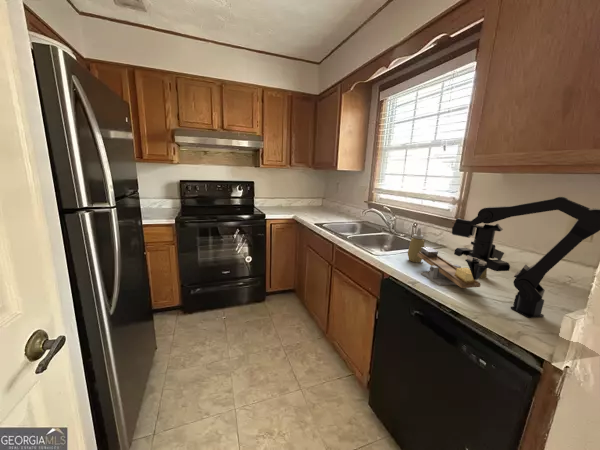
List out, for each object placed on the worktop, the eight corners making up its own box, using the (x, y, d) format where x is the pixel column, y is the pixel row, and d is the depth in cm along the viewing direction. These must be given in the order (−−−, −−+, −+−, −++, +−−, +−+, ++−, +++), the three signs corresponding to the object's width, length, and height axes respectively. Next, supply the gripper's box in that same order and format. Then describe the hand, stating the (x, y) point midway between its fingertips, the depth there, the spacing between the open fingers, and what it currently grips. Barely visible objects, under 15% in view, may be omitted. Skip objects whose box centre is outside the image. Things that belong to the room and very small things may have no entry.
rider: (474, 282, 101) (477, 273, 100) (463, 283, 100) (466, 274, 99) (464, 276, 106) (467, 267, 104) (454, 276, 105) (456, 268, 103)
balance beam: (479, 286, 101) (481, 282, 100) (461, 288, 99) (463, 283, 98) (432, 254, 126) (433, 251, 126) (417, 255, 124) (417, 251, 124)
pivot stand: (468, 283, 109) (471, 270, 108) (439, 285, 106) (441, 272, 105) (447, 272, 121) (449, 260, 119) (420, 274, 118) (422, 261, 116)
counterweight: (436, 257, 121) (438, 251, 120) (427, 257, 120) (428, 252, 119) (429, 252, 126) (431, 247, 125) (420, 252, 124) (421, 247, 123)
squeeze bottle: (425, 264, 131) (430, 230, 128) (408, 262, 132) (413, 229, 129) (420, 259, 139) (425, 227, 135) (405, 257, 140) (409, 226, 137)
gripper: (527, 247, 87) (516, 289, 90) (479, 234, 105) (472, 269, 108) (501, 248, 85) (491, 291, 88) (456, 234, 103) (449, 270, 106)
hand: (475, 279), depth 98 cm, fingers closed
